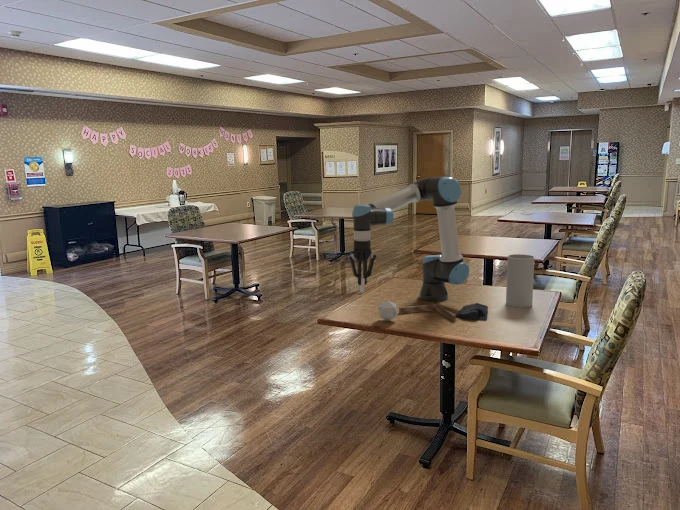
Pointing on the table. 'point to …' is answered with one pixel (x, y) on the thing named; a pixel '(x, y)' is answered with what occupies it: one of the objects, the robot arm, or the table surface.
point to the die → (388, 310)
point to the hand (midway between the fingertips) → (362, 291)
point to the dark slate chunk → (473, 312)
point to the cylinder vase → (520, 280)
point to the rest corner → (428, 308)
